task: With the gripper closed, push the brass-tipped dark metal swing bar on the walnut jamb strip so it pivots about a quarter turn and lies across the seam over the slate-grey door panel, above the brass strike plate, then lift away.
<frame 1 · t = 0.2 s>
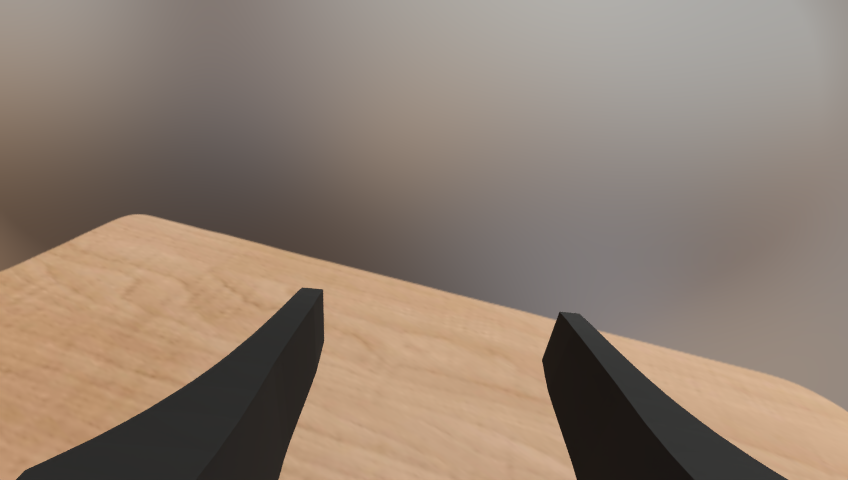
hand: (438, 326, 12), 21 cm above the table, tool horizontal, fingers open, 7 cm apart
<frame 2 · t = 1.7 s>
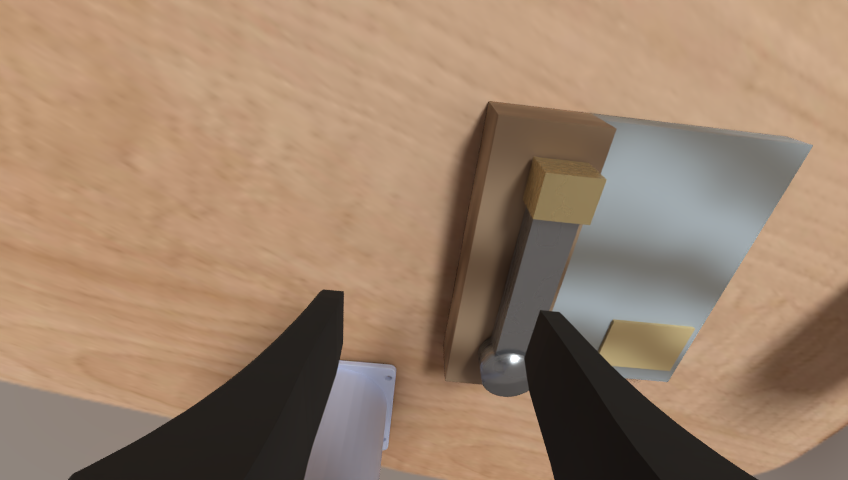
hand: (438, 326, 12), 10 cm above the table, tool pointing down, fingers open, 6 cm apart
door board: (596, 258, 23), on the table
latch bar: (529, 294, 19), point 4 cm above the table, hinge at 0.0°
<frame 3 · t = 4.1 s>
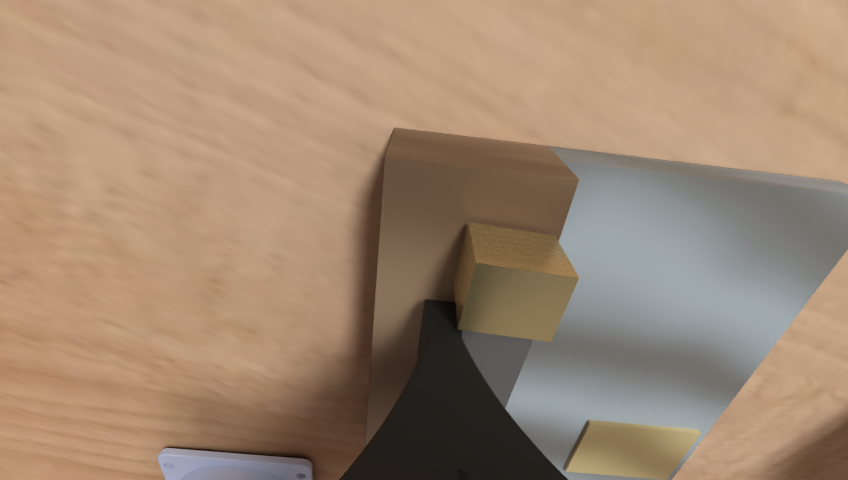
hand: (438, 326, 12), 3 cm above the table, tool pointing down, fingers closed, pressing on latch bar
door board: (565, 337, 17), on the table
latch bar: (463, 415, 13), point 4 cm above the table, hinge at 2.8°, touching gripper
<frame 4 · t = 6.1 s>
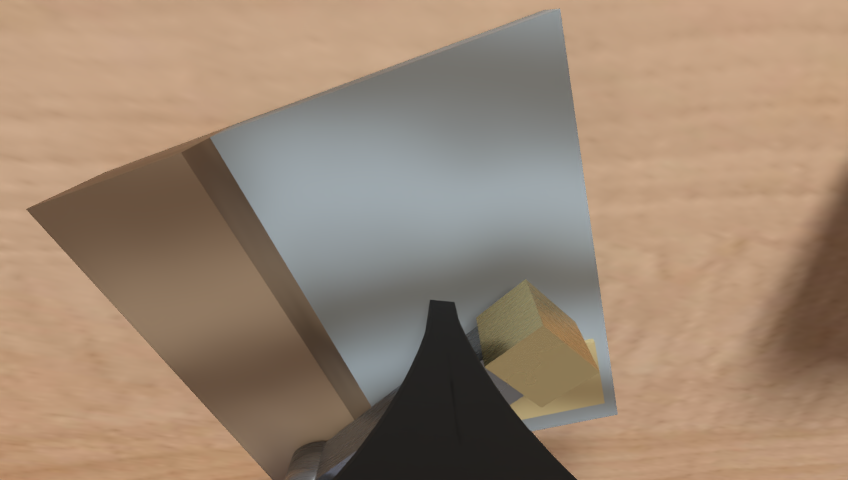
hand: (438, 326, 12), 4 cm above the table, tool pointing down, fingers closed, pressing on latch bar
door board: (405, 292, 16), on the table
latch bar: (407, 430, 13), point 4 cm above the table, hinge at 61.3°, touching gripper
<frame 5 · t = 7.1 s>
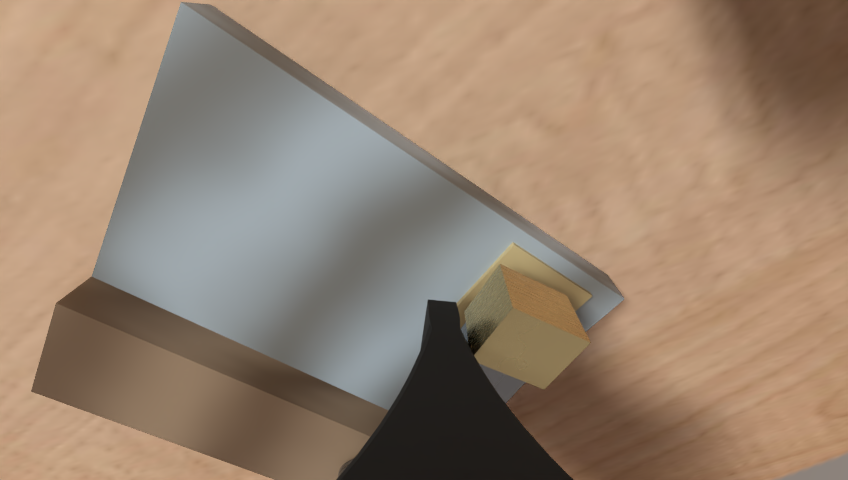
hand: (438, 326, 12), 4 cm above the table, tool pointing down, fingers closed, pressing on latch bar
door board: (341, 298, 16), on the table
latch bar: (429, 433, 13), point 4 cm above the table, hinge at 83.4°, touching gripper
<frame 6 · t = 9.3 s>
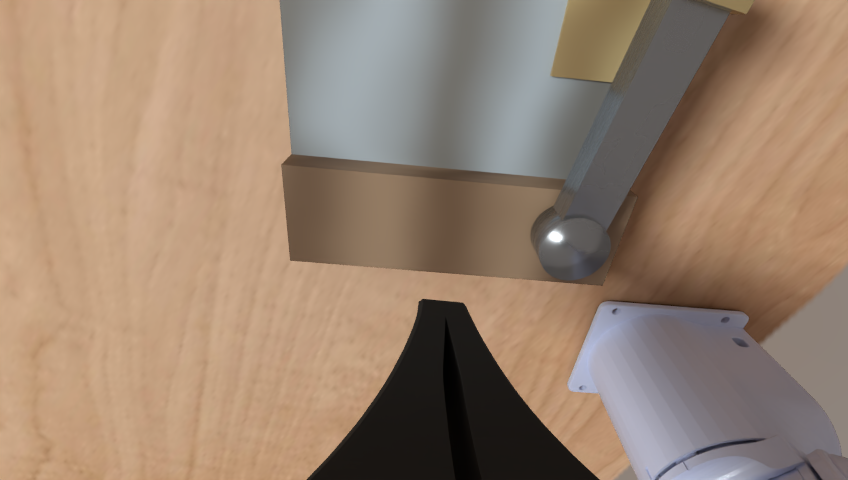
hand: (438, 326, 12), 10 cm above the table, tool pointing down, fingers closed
door board: (466, 98, 18), on the table
latch bar: (625, 135, 15), point 4 cm above the table, hinge at 99.4°
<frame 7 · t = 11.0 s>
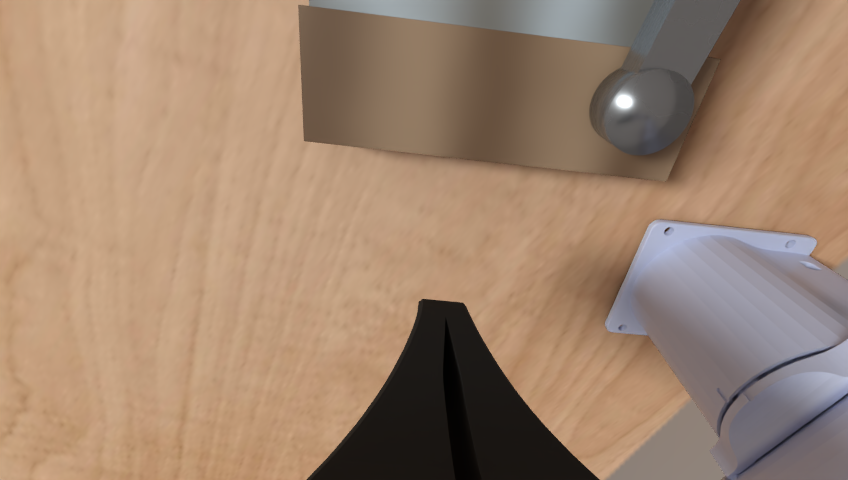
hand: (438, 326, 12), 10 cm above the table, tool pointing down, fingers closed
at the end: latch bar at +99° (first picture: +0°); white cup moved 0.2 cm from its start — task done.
